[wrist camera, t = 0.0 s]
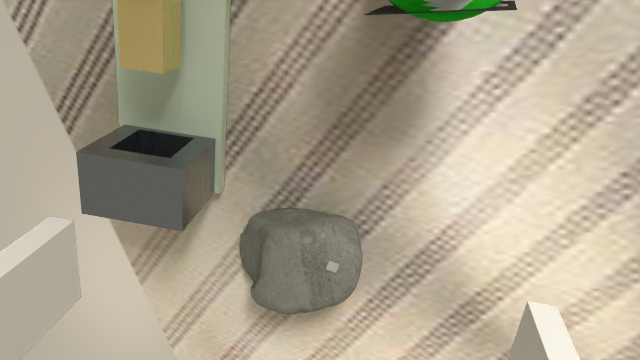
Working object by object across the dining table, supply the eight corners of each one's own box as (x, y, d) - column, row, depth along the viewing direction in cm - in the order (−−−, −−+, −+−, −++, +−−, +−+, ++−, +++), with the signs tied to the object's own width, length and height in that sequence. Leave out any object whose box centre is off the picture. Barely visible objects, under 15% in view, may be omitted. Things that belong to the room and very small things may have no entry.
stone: (240, 186, 45) (266, 245, 37) (334, 180, 48) (378, 234, 40) (237, 271, 49) (260, 343, 41) (325, 261, 52) (364, 326, 44)
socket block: (124, 124, 43) (76, 152, 37) (215, 138, 43) (182, 169, 36) (127, 178, 45) (81, 213, 39) (214, 192, 45) (182, 231, 38)
